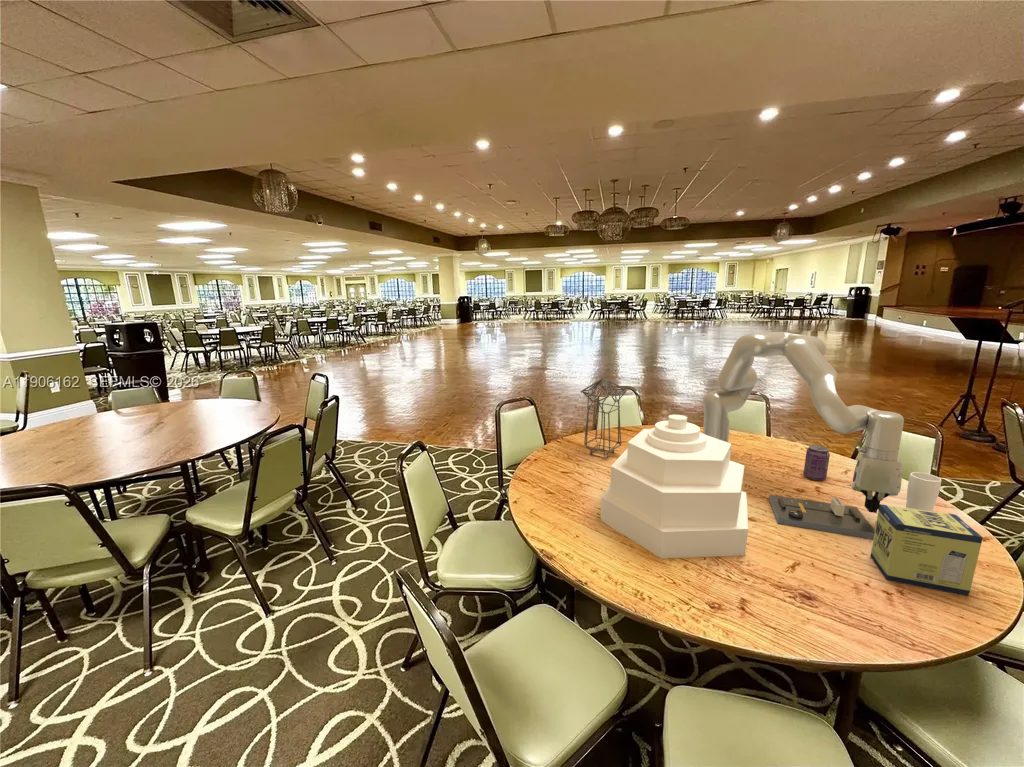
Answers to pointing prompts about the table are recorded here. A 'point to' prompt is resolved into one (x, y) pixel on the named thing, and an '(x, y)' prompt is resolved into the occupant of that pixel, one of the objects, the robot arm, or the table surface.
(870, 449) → the robot arm
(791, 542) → the table surface
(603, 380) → the geometric lantern
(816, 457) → the beverage can
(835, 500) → the fader
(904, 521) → the protein box
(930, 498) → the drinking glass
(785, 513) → the console
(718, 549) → the tiered cake
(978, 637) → the table surface
